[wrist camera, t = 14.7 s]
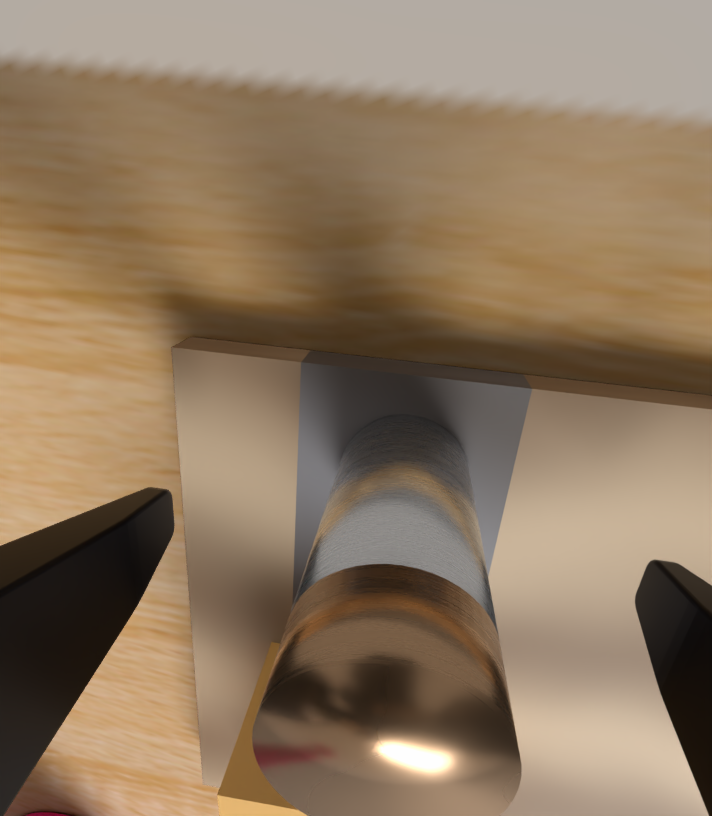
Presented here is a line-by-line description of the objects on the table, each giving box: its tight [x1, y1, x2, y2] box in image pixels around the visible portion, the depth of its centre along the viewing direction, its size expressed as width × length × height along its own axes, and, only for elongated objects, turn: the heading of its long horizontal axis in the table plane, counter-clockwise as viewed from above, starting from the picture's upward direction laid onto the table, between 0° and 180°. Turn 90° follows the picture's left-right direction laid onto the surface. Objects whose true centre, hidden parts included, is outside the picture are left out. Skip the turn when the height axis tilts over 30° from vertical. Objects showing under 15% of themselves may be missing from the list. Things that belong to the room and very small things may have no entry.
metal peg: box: [252, 414, 522, 816], centre depth 8 cm, size 3×3×6 cm
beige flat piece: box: [171, 337, 712, 816], centre depth 13 cm, size 16×22×1 cm
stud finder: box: [217, 642, 307, 816], centre depth 13 cm, size 6×5×4 cm
